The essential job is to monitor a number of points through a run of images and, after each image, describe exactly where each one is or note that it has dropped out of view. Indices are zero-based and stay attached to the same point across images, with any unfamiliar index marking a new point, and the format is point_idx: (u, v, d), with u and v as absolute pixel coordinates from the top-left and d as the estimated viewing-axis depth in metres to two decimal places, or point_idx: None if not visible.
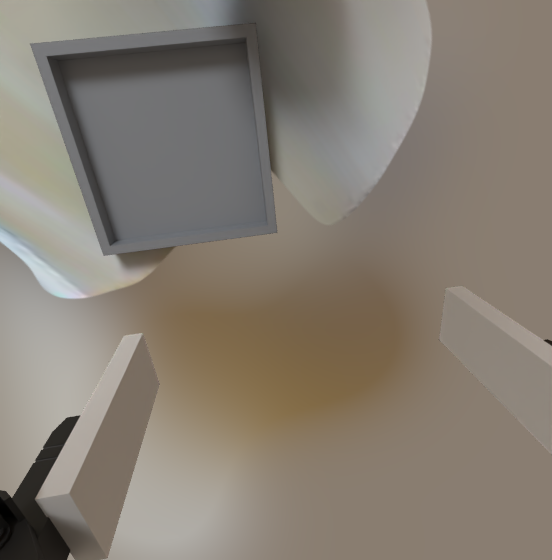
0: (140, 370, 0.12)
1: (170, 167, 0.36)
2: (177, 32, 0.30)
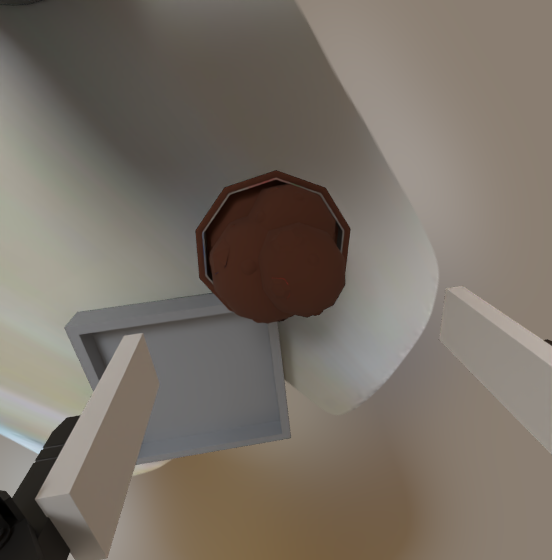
0: (140, 370, 0.12)
1: (190, 389, 0.38)
2: (201, 309, 0.32)
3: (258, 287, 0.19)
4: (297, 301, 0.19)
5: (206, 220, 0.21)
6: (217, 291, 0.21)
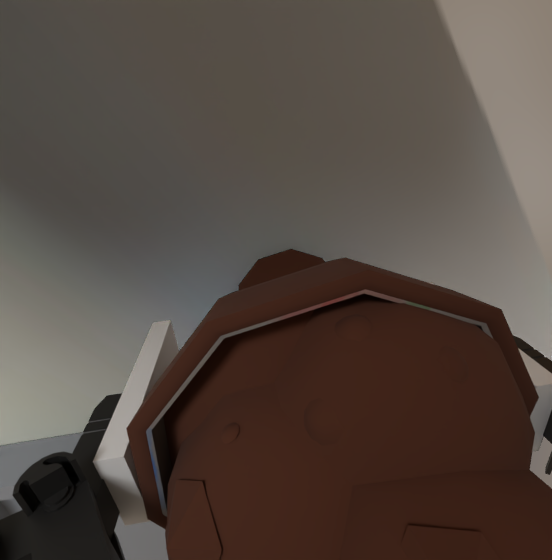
0: (170, 354, 0.13)
1: None
2: None
3: None
4: None
5: (155, 406, 0.07)
6: None
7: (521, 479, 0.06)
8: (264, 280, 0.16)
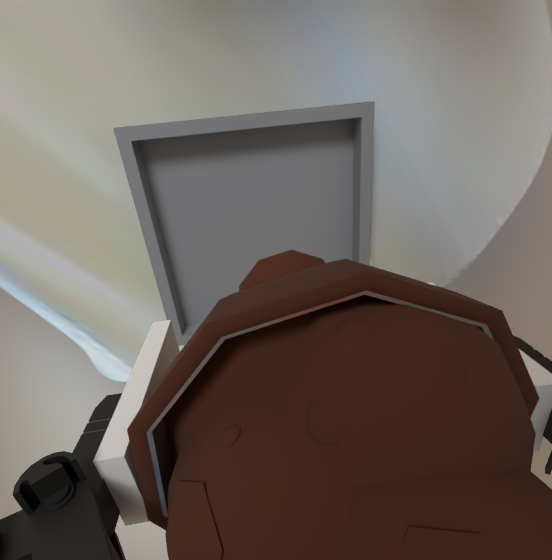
0: (170, 354, 0.13)
1: (253, 250, 0.32)
2: (284, 113, 0.25)
3: None
4: None
5: (156, 407, 0.07)
6: None
7: (522, 480, 0.06)
8: (264, 281, 0.16)
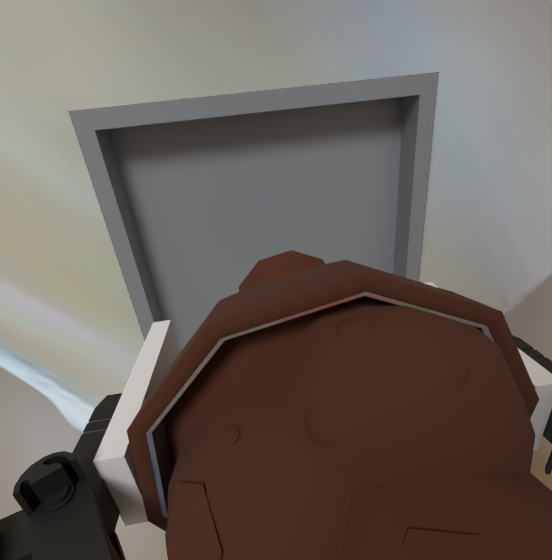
0: (170, 354, 0.13)
1: None
2: (312, 89, 0.18)
3: None
4: None
5: (156, 408, 0.07)
6: None
7: (522, 482, 0.06)
8: (264, 281, 0.16)
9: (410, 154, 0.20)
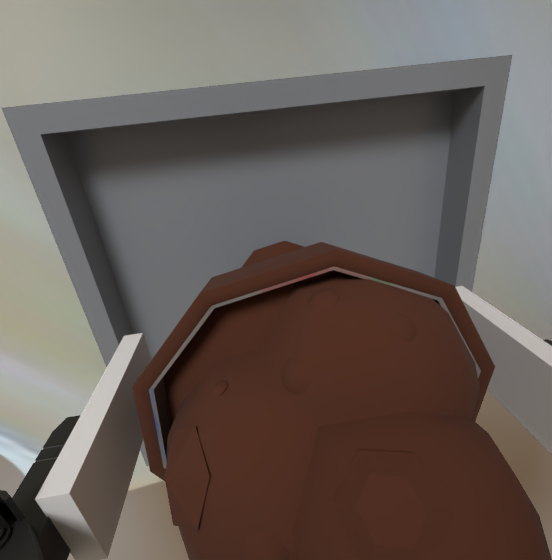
0: (140, 370, 0.12)
1: None
2: (340, 78, 0.13)
3: None
4: None
5: (157, 367, 0.09)
6: (184, 542, 0.09)
7: (459, 422, 0.07)
8: None
9: (464, 165, 0.16)
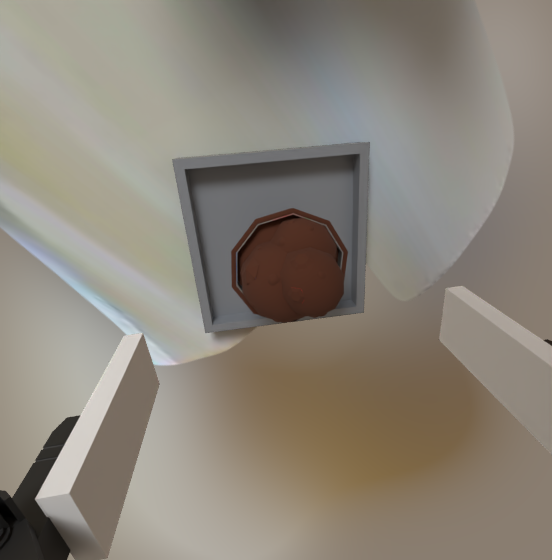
0: (140, 370, 0.12)
1: None
2: (301, 150, 0.33)
3: (280, 294, 0.26)
4: (308, 304, 0.25)
5: (239, 243, 0.28)
6: (247, 297, 0.28)
7: (324, 252, 0.27)
8: None
9: (357, 184, 0.36)
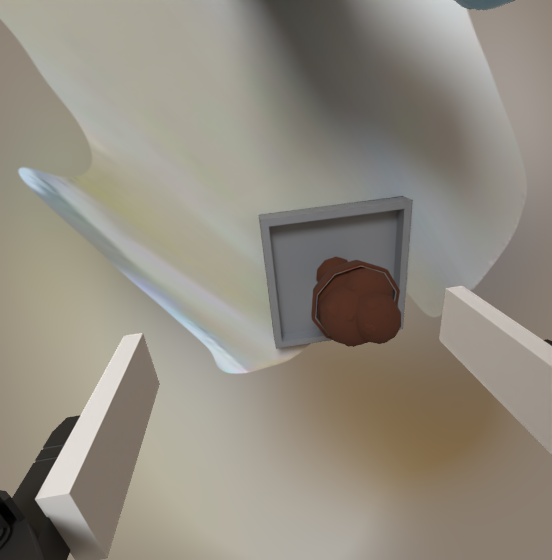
0: (140, 370, 0.12)
1: None
2: (359, 208, 0.42)
3: (355, 328, 0.36)
4: (378, 336, 0.35)
5: (320, 288, 0.38)
6: (326, 328, 0.38)
7: (386, 295, 0.36)
8: (327, 267, 0.46)
9: (401, 231, 0.45)
